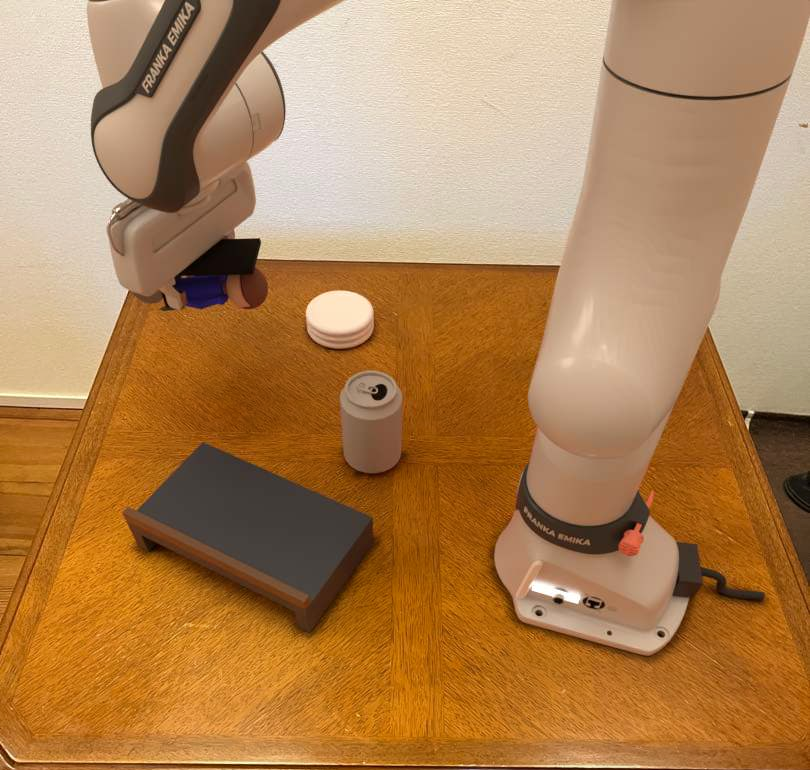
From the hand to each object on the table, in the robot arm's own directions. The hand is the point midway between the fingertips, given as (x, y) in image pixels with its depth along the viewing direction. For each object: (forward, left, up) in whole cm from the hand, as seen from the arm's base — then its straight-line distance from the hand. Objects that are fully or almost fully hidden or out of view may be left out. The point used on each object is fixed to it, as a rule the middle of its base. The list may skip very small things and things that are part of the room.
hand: (202, 285), depth 87 cm
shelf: (-17, +18, -18) cm, 31 cm away
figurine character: (0, 0, -3) cm, 3 cm away
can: (-22, -1, -18) cm, 29 cm away
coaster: (-5, -21, -18) cm, 28 cm away
